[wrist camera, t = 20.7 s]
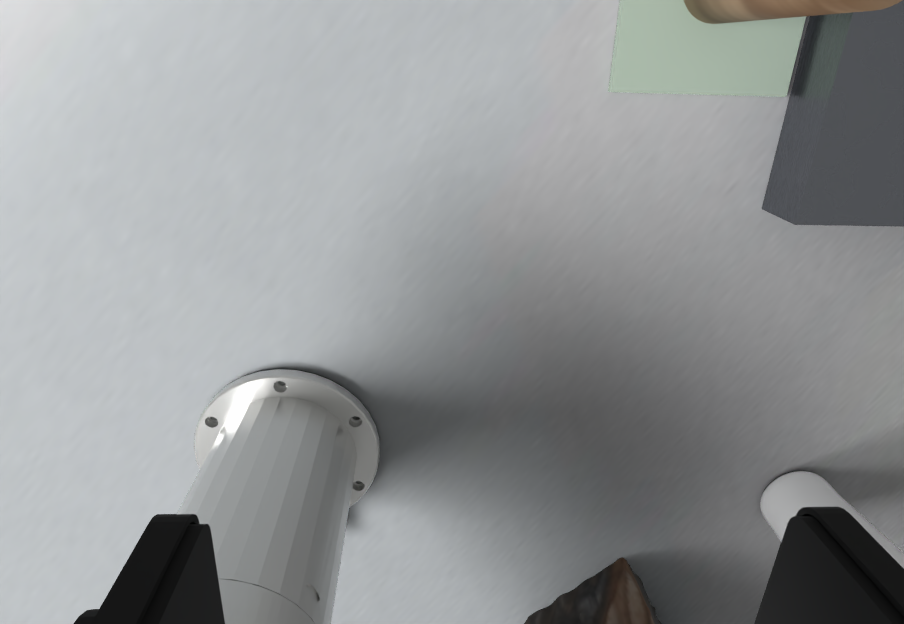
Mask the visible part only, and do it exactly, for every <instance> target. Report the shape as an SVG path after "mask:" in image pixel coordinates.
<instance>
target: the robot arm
mask: <svg viewBox="0 0 904 624" xmlns="http://www.w3.org/2000/svg"><path fill="white" fill-rule="evenodd" d="M281 381H283V382H281ZM356 416H357V417H356ZM194 451H195V456H196V462H197V464H198V466H199V469H200V470H199V472H198V474H197V476H196V478H195V480H194V482H193V484H192V485H191V487H190V489H189V491H188V493H187V495H186V497H185V499H184V501H183V502H182V504H181V506H180V508H179V510H178V512H177V514H157V515H156V516H154V517H153V518H152V519H151V521H150V522H149V524H148V526H147V527H146V529H145V531H144V533H143V534H142V536H141V538H140V539H139V541H138V543H137V545H136V546H135V548H134V550H133V552H132V553H131V555H130V557H129V559H128V560H127V562H126V564H125V566H124V567H123V569H122V571H121V572H120V574H119V576H118V578H117V579H116V581H115V583H114V585H113V586H112V588H111V590H110V592H109V593H108V595H107V597H106V599H105V600H104V602H103V604H102V605H101V607H100V609H93V610H87V611H85V612H84V613H83V614H82V615H80V616H79V617H78V618H77V620H76V621H75V623H74V624H331V619H332V612H333V606H334V600H335V594H336V587H337V581H338V575H339V568H340V562H341V556H342V550H343V543H344V537H345V531H346V525H347V518H348V512H349V507H351V506H352V505H354V504H355V503H357V502H358V501H359V499H360V498H361V497H362V496H363V495H364V494H365V493H366V492H367V490H368V489H369V487H370V486H371V484H372V482H373V481H374V478H375V475H376V472H377V469H378V464H379V456H380V441H379V436H378V432H377V428H376V425H375V423H374V421H373V419H372V418H371V416H370V414H369V412H368V411H367V409H366V408H365V407H364V406H363V405H362V403H361V402H360V401H359V400H358V399H357V398H356V397H355V396H354V395H352V394H351V393H350V392H349V391H348V390H347V389H345V388H343V387H342V386H340V385H338V384H336V383H335V382H333V381H331V380H329V379H326V378H324V377H321V376H318V375H316V374H313V373H308V372H303V371H298V370H282V369H276V370H268V371H260V372H256V373H253V374H250V375H247V376H243V377H241V378H239V379H237V380H235V381H234V382H232V383H230V384H228V385H227V386H225V387H224V388H223V389H222V390H221V391H219V392H218V393H217V394H216V395H215V396H214V397H213V399H212V400H211V401H210V403H209V404H208V405H207V406H206V408H205V410H204V411H203V413H202V415H201V417H200V419H199V421H198V425H197V428H196V431H195V437H194ZM754 624H904V568H903V567H902V566H901V565H900V564H899V563H898V562H897V561H896V560H895V559H894V558H893V557H892V556H891V555H890V554H889V553H888V552H887V551H886V550H885V549H884V548H883V547H882V546H881V545H880V544H879V543H878V542H877V541H876V540H875V539H874V538H873V537H872V536H871V535H870V534H869V533H868V532H867V531H866V529H865V528H864V527H863V526H862V525H861V524H860V523H859V522H858V521H857V520H856V519H855V518H854V517H853V516H852V515H851V514H850V513H849V512H847V511H846V510H845V509H843V508H841V507H803V508H801V509H800V510H798V512H797V514H796V516H794V517H792V518H790V520H789V522H788V524H787V527H786V530H785V533H784V536H783V539H782V542H781V545H780V548H779V551H778V554H777V557H776V560H775V563H774V566H773V569H772V572H771V575H770V578H769V581H768V584H767V587H766V590H765V593H764V596H763V599H762V602H761V605H760V608H759V611H758V614H757V617H756V620H755V623H754Z"/></svg>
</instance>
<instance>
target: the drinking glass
mask: <svg viewBox="0 0 904 624" xmlns="http://www.w3.org/2000/svg"><path fill="white" fill-rule="evenodd" d="M803 507H841V508H843V509H845V510H846V511H847V512H849V513H850V514H851V515H852V516H853V517H854V518H855V519H856V520H857V521H858V522H859V523H860V524H861V525H862V526H863V527H864V528H865V529H866V531H867V532H868V533H869V534H870V535H871V536H872V537H873V538H874V539H875V540H876V541H877V542H878V543H879V544H880V545H881V546H882V547H883V548H884V549H885V550H886V551H887V552H888V553H889V554H890V555H891V556H892V557H893V558H894V559H895V560H896V561H897V562H898V563H899V564H900V565H901V566H902V567H903V568H904V553H903V552H902V551H901V550H900V549H899V548H898V547H897V546H895V545H894V544H893V543H892V542H891V541H890V540H889V539H888V538H886V537H885V536H884V535H883V534H882V533H881V532H880V531H879V530H878V529H876V528H875V527H874V526H873V525H872V524H871V523H870V522H869V521H868V520H867V519H865V518H864V517H863V516H862V515H861V514H860V513H859V512H858V511H857V510H855V509H854V508H853V507H852V506H851V505H850V504H849V503H848V502H847V501H846V500H845V499H844V498H842V497H841V496H840V495H839V494H838V493H837V492H836V490H835V489H834V488H833V487H832V486H831V485H830V484H829V483H828V482H827V481H826V480H825V479H824V478H822V477H821V476H819V475H817V474H815V473H812V472H807V471H796V472H791V473H788V474H785V475H783V476H780V477H779V478H777V479H775V480H774V481H773V482H772V483H770V484H769V485H768V487H767V488H766V489H765V491H764V492H763V494H762V497H761V501H760V508H761V512H762V515H763V517H764V518H765V520H766V521H767V523H768V524H769V525H770V527H771V528H772V529H773V531H774V532H775V534H776V535H777V537H778V539H779V540H780V542H782V539H783V536H784V533H785V530H786V527H787V524H788V522H789V520H790V518H792V517H794V516H796V514H797V512H798V510H800V509H801V508H803Z"/></svg>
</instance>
